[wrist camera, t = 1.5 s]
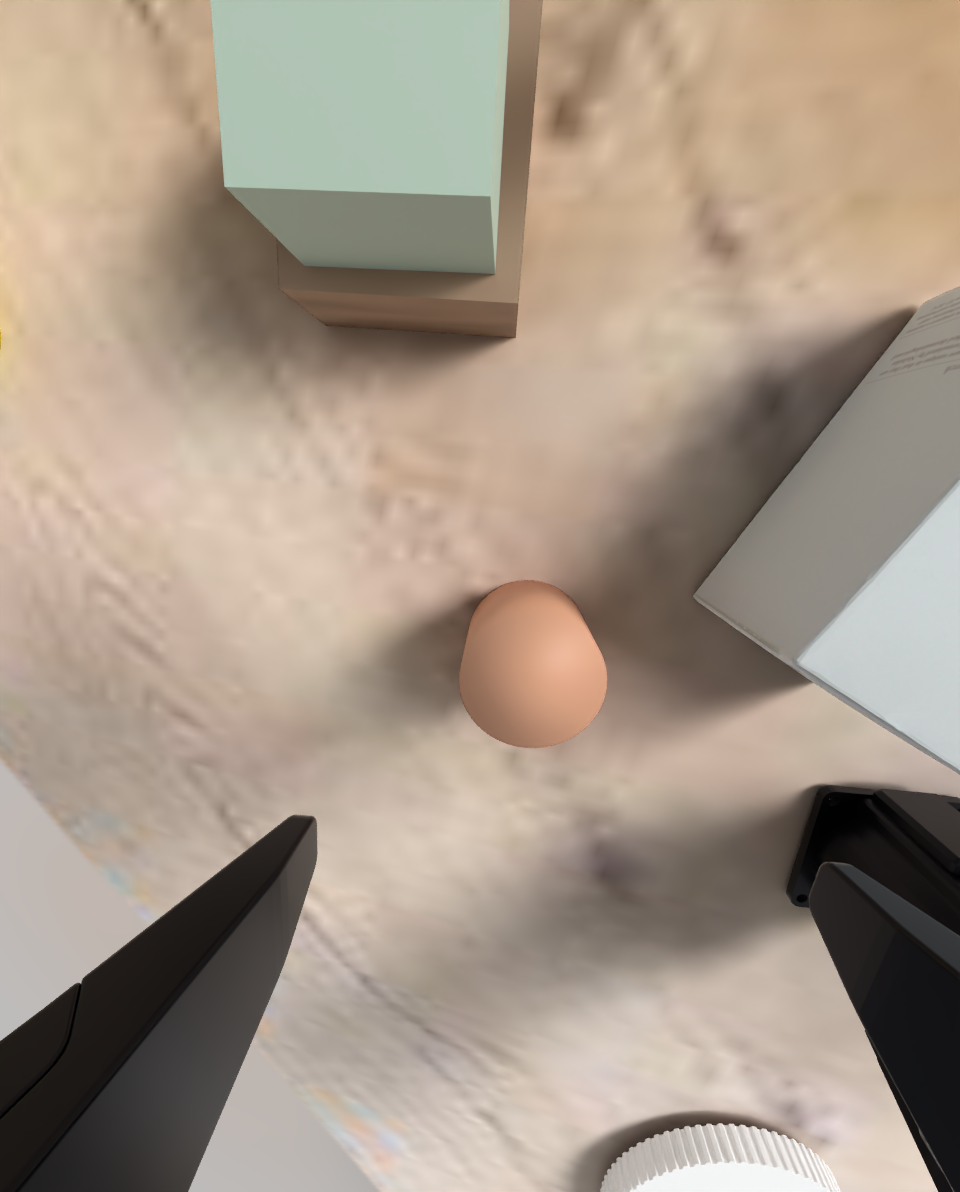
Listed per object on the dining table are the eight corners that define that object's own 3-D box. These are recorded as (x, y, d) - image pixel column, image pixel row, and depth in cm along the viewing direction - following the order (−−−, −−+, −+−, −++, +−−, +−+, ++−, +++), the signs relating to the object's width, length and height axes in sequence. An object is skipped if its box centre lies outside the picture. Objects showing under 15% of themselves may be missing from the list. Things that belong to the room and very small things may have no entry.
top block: (495, 273, 13) (490, 196, 10) (304, 265, 14) (224, 186, 10) (509, 24, 12) (510, -187, 8) (294, 19, 12) (196, -188, 8)
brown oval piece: (577, 694, 21) (596, 753, 17) (465, 684, 21) (454, 741, 17) (592, 585, 20) (617, 619, 15) (472, 575, 20) (463, 606, 15)
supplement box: (919, 296, 16) (682, 593, 19) (1250, 164, 9) (790, 669, 12) (1069, 418, 17) (819, 684, 20) (1480, 386, 10) (995, 805, 13)
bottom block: (515, 339, 17) (518, 303, 14) (328, 327, 18) (278, 288, 14) (534, 103, 16) (543, -16, 12) (324, 93, 16) (265, -28, 12)
